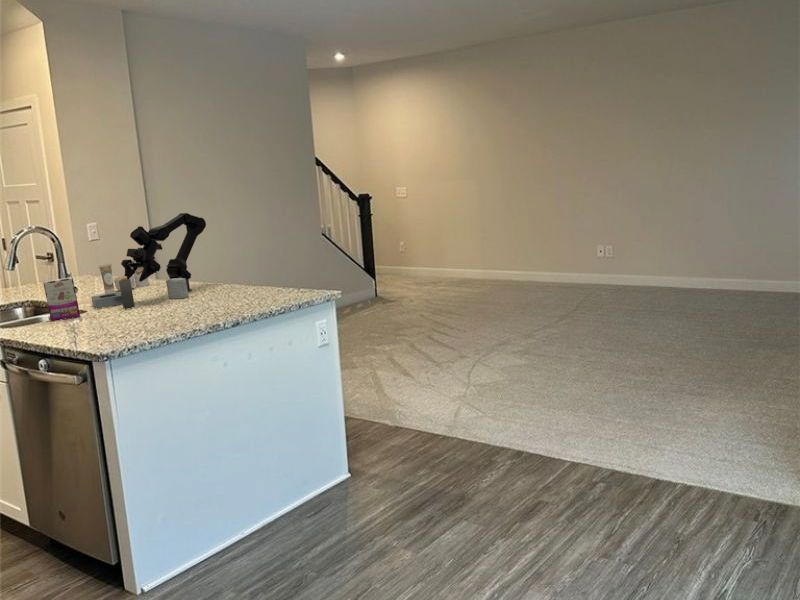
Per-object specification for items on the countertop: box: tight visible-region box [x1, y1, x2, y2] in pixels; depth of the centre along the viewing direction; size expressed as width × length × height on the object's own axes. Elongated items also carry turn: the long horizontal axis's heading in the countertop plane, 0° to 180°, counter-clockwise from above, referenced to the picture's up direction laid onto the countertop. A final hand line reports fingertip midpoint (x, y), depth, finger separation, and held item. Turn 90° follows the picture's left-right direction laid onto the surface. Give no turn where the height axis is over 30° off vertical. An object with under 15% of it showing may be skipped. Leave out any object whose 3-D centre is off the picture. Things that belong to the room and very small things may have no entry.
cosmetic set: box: [98, 259, 150, 295], centre depth 345 cm, size 25×9×19 cm, turn 144°
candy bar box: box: [42, 276, 81, 322], centre depth 285 cm, size 11×5×16 cm, turn 117°
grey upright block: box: [119, 276, 136, 310], centre depth 296 cm, size 5×5×14 cm
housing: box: [90, 291, 123, 309], centre depth 309 cm, size 12×12×4 cm
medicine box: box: [165, 278, 189, 300], centre depth 310 cm, size 8×4×9 cm, turn 65°
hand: (132, 281), depth 299 cm, fingers open, 9 cm apart
